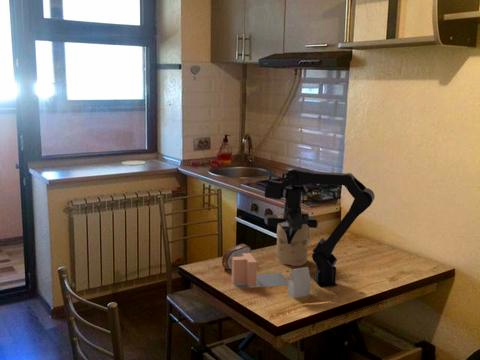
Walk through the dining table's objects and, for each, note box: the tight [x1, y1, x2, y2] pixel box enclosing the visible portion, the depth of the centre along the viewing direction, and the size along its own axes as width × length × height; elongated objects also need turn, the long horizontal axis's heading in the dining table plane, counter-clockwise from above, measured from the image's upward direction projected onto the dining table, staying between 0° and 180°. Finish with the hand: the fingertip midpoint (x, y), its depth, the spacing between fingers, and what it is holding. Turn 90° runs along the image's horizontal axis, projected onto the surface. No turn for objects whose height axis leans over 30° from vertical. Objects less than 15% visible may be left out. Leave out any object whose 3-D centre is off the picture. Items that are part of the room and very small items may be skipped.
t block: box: [231, 252, 258, 287], centre depth 183 cm, size 8×9×9 cm
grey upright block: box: [286, 266, 312, 299], centre depth 174 cm, size 4×7×10 cm, turn 119°
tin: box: [221, 243, 252, 271], centre depth 199 cm, size 15×3×8 cm, turn 141°
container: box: [275, 214, 310, 267], centre depth 205 cm, size 13×13×18 cm
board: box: [229, 272, 288, 290], centre depth 186 cm, size 20×11×1 cm, turn 104°
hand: (288, 243), depth 188 cm, fingers closed
